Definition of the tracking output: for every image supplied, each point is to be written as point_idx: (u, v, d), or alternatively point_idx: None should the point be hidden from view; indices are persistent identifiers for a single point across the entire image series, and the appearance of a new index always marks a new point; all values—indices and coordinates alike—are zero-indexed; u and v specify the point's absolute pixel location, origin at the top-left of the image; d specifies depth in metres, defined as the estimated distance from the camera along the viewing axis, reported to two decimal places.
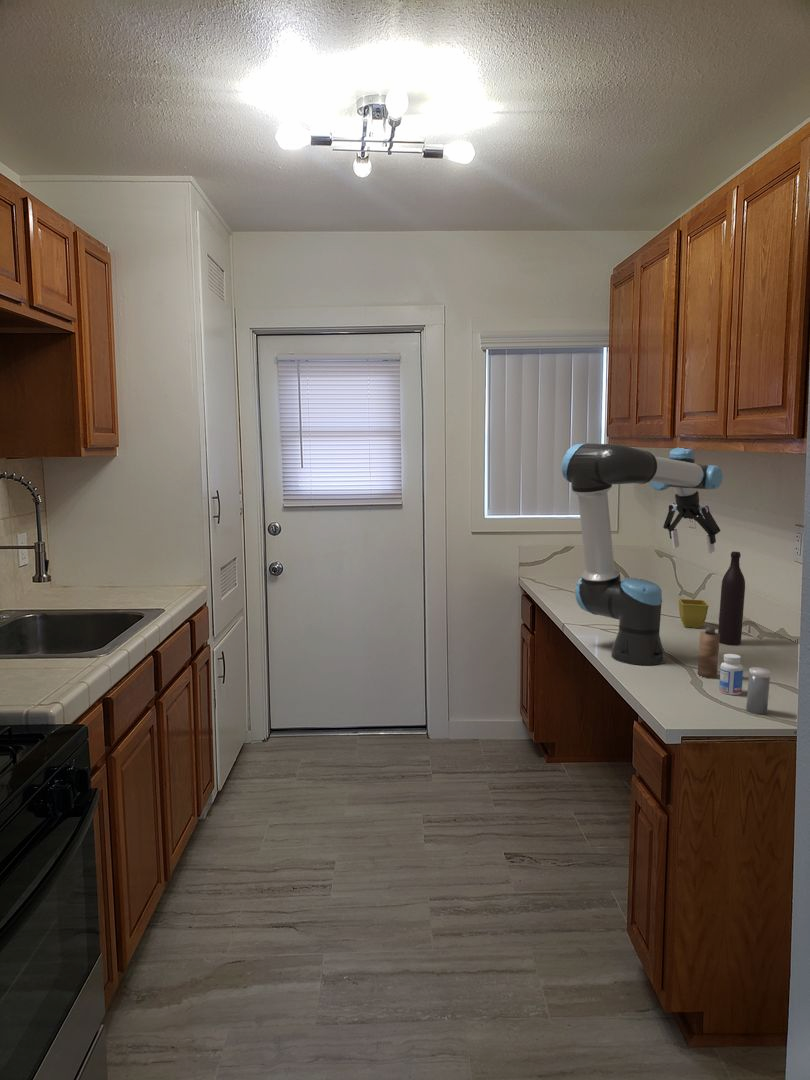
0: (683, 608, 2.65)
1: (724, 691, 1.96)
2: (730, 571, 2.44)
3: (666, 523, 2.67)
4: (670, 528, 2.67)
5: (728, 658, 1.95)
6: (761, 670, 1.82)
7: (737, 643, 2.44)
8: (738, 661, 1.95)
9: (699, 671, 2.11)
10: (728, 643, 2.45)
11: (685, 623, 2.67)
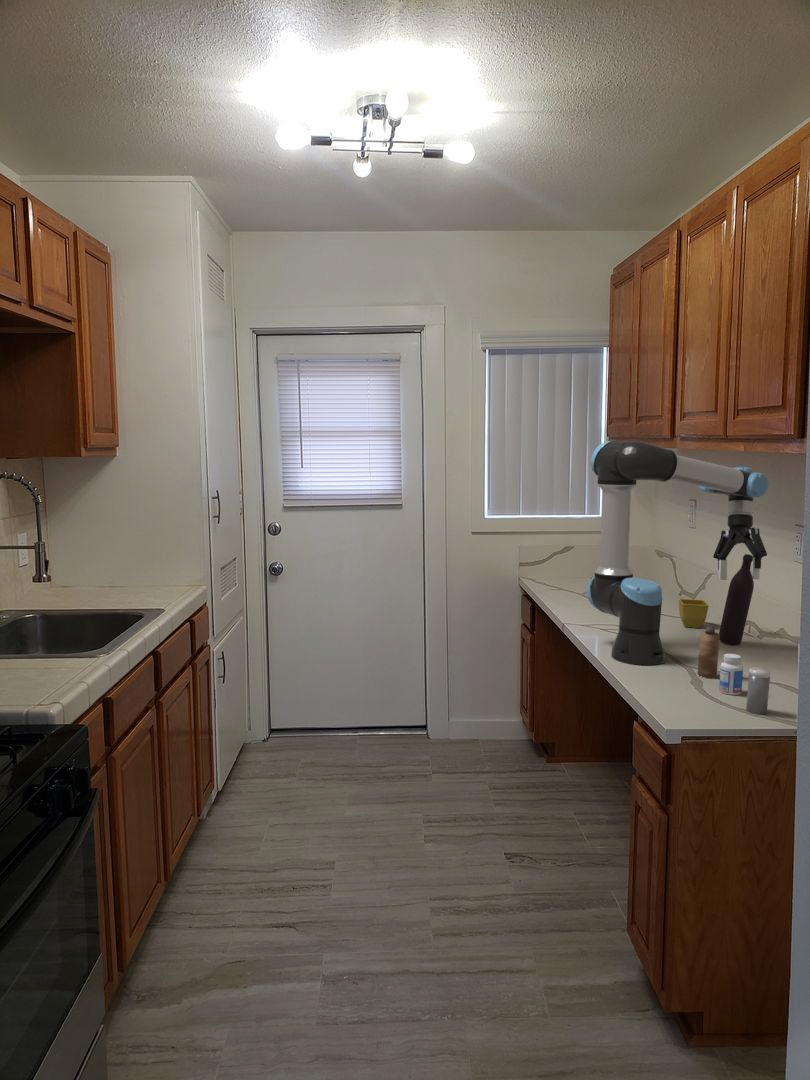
0: (683, 608, 2.65)
1: (724, 691, 1.96)
2: (739, 574, 2.38)
3: (716, 551, 2.55)
4: (719, 556, 2.54)
5: (728, 658, 1.95)
6: (761, 670, 1.82)
7: (737, 643, 2.44)
8: (738, 661, 1.95)
9: (699, 671, 2.11)
10: (728, 643, 2.44)
11: (685, 623, 2.67)
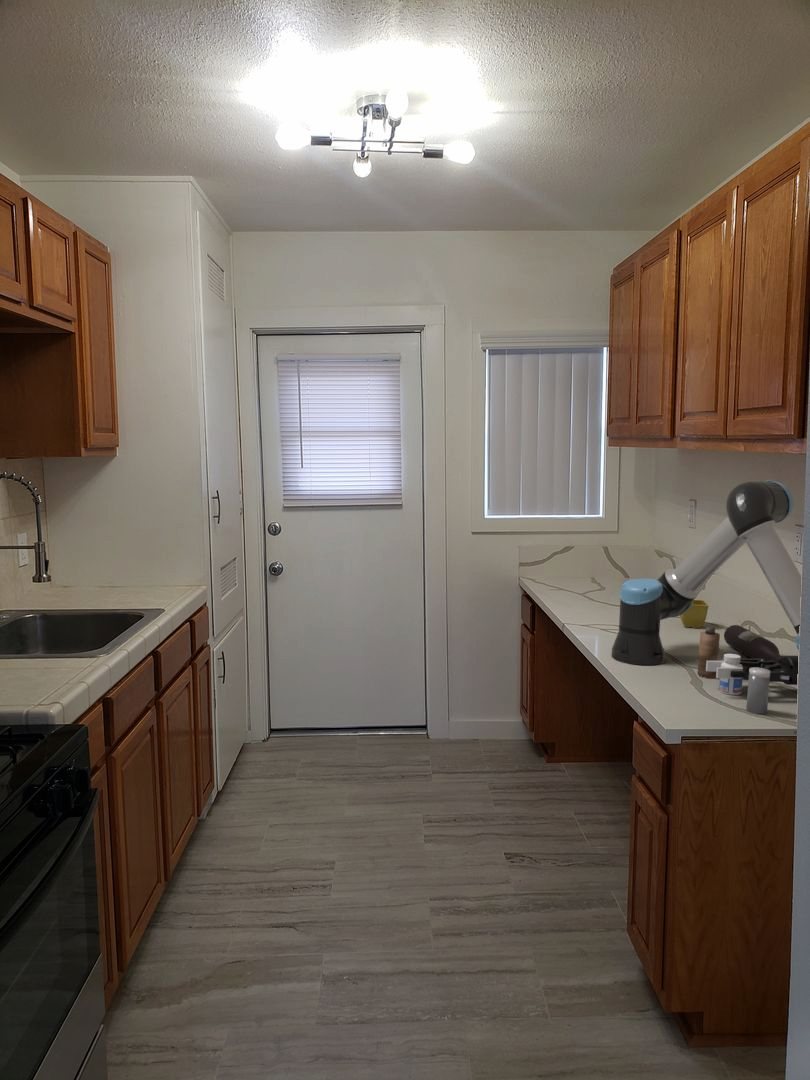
0: None
1: (724, 691, 1.96)
2: (766, 659, 2.20)
3: None
4: None
5: (728, 658, 1.95)
6: (761, 670, 1.82)
7: None
8: (738, 661, 1.95)
9: (699, 671, 2.11)
10: None
11: (685, 623, 2.67)
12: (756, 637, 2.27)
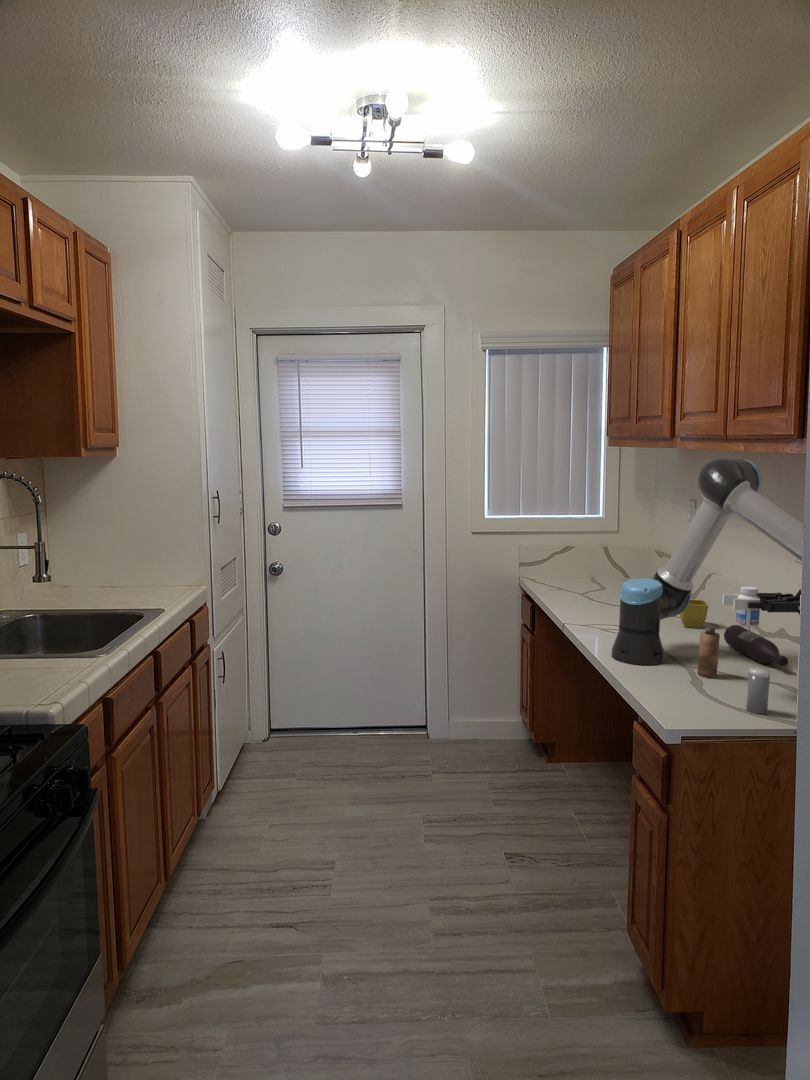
0: None
1: (741, 623, 1.94)
2: (766, 659, 2.20)
3: None
4: None
5: (745, 590, 1.93)
6: (761, 670, 1.82)
7: None
8: (755, 593, 1.93)
9: (699, 671, 2.11)
10: None
11: (685, 623, 2.67)
12: (756, 637, 2.27)
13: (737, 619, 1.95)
